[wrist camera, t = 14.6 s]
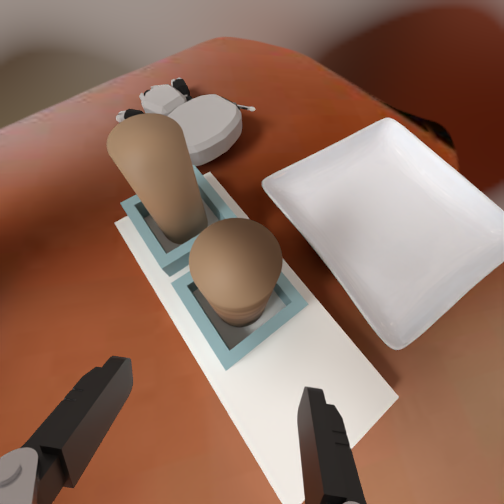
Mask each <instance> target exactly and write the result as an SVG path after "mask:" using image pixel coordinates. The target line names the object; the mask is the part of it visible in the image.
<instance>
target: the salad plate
mask: <svg viewBox="0 0 504 504" xmlns="http://www.w3.org/2000/svg"><path fill="white" fill-rule="evenodd" d="M262 187H263V189H264V191H265V192H266V193H267V194H268V196H269V197H270V198H271V199H272V201H273V202H274V203H275V204H276V205H277V206H278V208H279V209H280V210H281V211H282V212H283V213H284V214H285V216H286V217H287V218H288V219H289V220H290V221H291V222H292V224H293V225H294V226H295V227H296V228H297V229H298V231H299V232H300V233H301V234H302V235H303V237H304V238H305V239H306V240H307V241H308V243H309V244H310V245H311V246H312V248H313V249H314V250H315V251H316V253H317V254H318V255H319V256H320V258H321V259H322V260H323V262H324V263H325V264H326V265H327V267H328V268H329V269H330V270H331V272H332V273H333V274H334V276H335V277H336V279H337V280H338V281H339V283H340V284H341V285H342V287H343V288H344V290H345V291H346V292H347V294H348V295H349V297H350V298H351V300H352V301H353V302H354V304H355V305H356V307H357V308H358V310H359V311H360V312H361V314H362V315H363V316H364V318H365V319H366V321H367V322H368V324H369V325H370V326H371V327H372V329H373V330H374V331H375V332H376V334H377V335H378V336H379V337H380V338H381V339H382V341H383V342H384V343H385V344H386V345H387V346H389V347H390V348H392V349H394V350H400V349H403V348H405V347H406V346H408V345H409V344H410V343H412V342H413V341H414V340H415V339H417V338H418V337H419V336H420V335H422V334H423V333H424V332H425V331H426V330H427V329H428V328H429V327H430V326H432V325H433V324H434V323H435V322H436V321H437V320H438V319H439V318H440V317H441V316H442V315H443V314H445V313H446V312H447V311H448V310H449V309H450V308H451V307H452V306H453V305H454V304H455V303H456V302H457V301H459V300H460V299H461V298H462V297H463V296H464V295H465V294H466V293H467V292H468V291H469V290H470V289H472V288H473V287H474V286H475V285H476V284H477V283H478V282H480V281H481V280H482V279H483V278H484V277H486V276H487V275H488V274H489V273H490V272H492V271H493V270H494V269H495V268H496V267H498V266H499V265H500V264H502V263H503V262H504V211H503V210H502V209H501V208H500V207H499V206H497V205H496V204H495V203H494V202H493V201H492V200H490V199H489V198H488V197H487V196H486V195H484V194H483V193H482V192H481V191H480V190H478V189H477V188H476V187H475V186H474V185H473V184H471V183H470V182H469V181H468V180H467V179H466V178H464V177H463V176H462V175H461V174H460V173H458V172H457V171H456V170H455V169H454V168H453V167H451V166H450V165H449V164H448V163H446V162H445V161H444V160H443V159H442V158H441V157H439V156H438V155H437V154H436V153H435V152H434V151H432V150H431V149H430V148H429V147H428V146H426V145H425V144H424V143H423V142H422V141H420V140H419V139H418V138H417V137H416V136H415V135H413V134H412V133H411V132H410V131H409V130H407V129H406V128H405V127H404V126H403V125H401V124H400V123H398V122H397V121H395V120H394V119H391V118H385V119H382V120H379V121H377V122H375V123H373V124H371V125H369V126H367V127H366V128H364V129H362V130H360V131H358V132H356V133H354V134H352V135H350V136H349V137H347V138H345V139H343V140H341V141H339V142H337V143H335V144H333V145H331V146H329V147H327V148H325V149H323V150H321V151H319V152H317V153H315V154H313V155H311V156H309V157H307V158H305V159H303V160H300V161H298V162H296V163H294V164H292V165H290V166H288V167H286V168H284V169H282V170H280V171H278V172H276V173H274V174H272V175H270V176H268V177H266V178H265V179H264V180H263V181H262Z"/></svg>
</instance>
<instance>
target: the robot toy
mask: <svg viewBox="0 0 504 504" xmlns="http://www.w3.org/2000/svg"><path fill="white" fill-rule="evenodd" d="M171 85H172V86H170V85H168V84H166V85H159V86H158V85H156V86H152V87H151V90H147V91H146V92H145V93H144V95H143V93H141V94H140V96H139V97H140V99H141V101H142V103H141V104H142V106H143V108H144V110H145V113H156V114H162V115H165V116H168V117H170V118H172V119H174V120H175V121H176V122H177V123H178V124H179V125H180V126H181V128H182V130H183V133H184V137H185V140H186V144H187V148H188V151H189V155H190V158H191V162H192V165H195V166H200V165H203V164H205V163H207V162H210V161H212V160H213V159H215V158H217V157H218V156H220V155H222V154H223V153H225V152H226V151H228V150H229V148H230V147H231V146H232V145H233V144H234V143H235V142H236V141H237V139H238V138H239V136H240V134H241V132H242V116H241V112H240V108H241V109H246V110H250V111H254V110H256V109H255V108H254V107H247V106H242V105H236V103H233V102H231V101H229V100H227V99H225V98H223V97H220V96H218V95H216V94H210V95H202V96H199V97H197V98H194V99H192V97H191V96H190V91H189V89H188V87H187V85H186V83H185V82H184V80H183V79H181V78H177V79H176V80H175V79H173V80H171ZM145 113H143V112H142V111H139V110H133V109H128V110H126V111H120V112H119V113H118V115H117V116H116V120H117V121H118V122H119V123H120V122H122V121H123V120H125V119H127V118H129V117H132V116H135V115H139V114H145Z"/></svg>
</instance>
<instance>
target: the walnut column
mask: <svg viewBox="0 0 504 504" xmlns="http://www.w3.org/2000/svg"><path fill="white" fill-rule="evenodd" d="M282 264H283V258H282V251H281V248H280V245H279V243H278V241H277V239H276V238H275V236H274V235H273V234H272V233H271V232H270V231H269V230H268V229H267V228H266V227H265V226H263V225H261V224H260V223H258V222H256V221H253V220H250V219H245V218H228V219H223V220H220V221H217V222H215V223H213V224H211V225H210V226H208V227H207V228H205V229H204V230H203V231H202V232H201V233H200V234H199V235H198V237H197V238H196V240H195V241H194V243H193V245H192V248H191V251H190V255H189V269H190V273H191V276H192V279H193V281H194V283H195V284H196V286H197V287H198V289H199V290H200V291H201V293H202V294H203V295H204V297H205V298H206V299H207V301H208V302H209V303H210V305H211V306H212V308H213V309H214V310H215V312H216V313H217V314H218V316H219V317H220V318H221V319H222V320H223V321H224V322H225V323H227V324H228V325H231V326H234V327H246V326H249V325H251V324H253V323H254V322H256V321H257V320H258V319H259V318H260V317H261V315H262V313H263V311H264V309H265V307H266V305H267V303H268V300H269V298H270V296H271V294H272V292H273V289H274V287H275V285H276V283H277V281H278V278H279V276H280V273H281V270H282Z"/></svg>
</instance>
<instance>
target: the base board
mask: <svg viewBox="0 0 504 504" xmlns="http://www.w3.org/2000/svg"><path fill="white" fill-rule="evenodd" d="M107 150H108V153H109V155H110V157H111V158H112V159H113V161H114V162H115V164H116V165H117V167H118V168H119V170H120V171H121V172H122V174H123V175H124V177H125V178H126V180H127V181H128V183H129V184H130V186H131V187H132V188H133V190H134V191H135V193H136V195H134V196H132V197H130V198H129V199H127V200H125V201H123V202H121V203H120V204H121V205H122V207H123V209H124V210H125V212H126V213H127V215H128V216H126V217H124V218H122V219H120V220H118V221H117V222H115V225H116V227H117V228H118V230H119V232H120V233H121V235H122V237H123V238H124V240H125V242H126V243H127V245H128V247H129V248H130V250H131V252H132V253H133V255H134V257H135V259H136V260H137V262H138V264H139V265H140V267H141V269H142V270H143V272H144V274H145V275H146V277H147V279H148V280H149V282H150V284H151V285H152V287H153V289H154V290H155V292H156V294H157V295H158V297H159V299H160V300H161V302H162V304H163V305H164V307H165V309H166V310H167V312H168V314H169V315H170V317H171V319H172V320H173V322H174V324H175V325H176V327H177V329H178V330H179V332H180V334H181V335H182V337H183V339H184V340H185V342H186V344H187V345H188V347H189V349H190V350H191V352H192V354H193V355H194V357H195V359H196V360H197V362H198V364H199V365H200V367H201V369H202V370H203V372H204V374H205V375H206V377H207V379H208V380H209V382H210V384H211V385H212V387H213V389H214V390H215V392H216V394H217V395H218V397H219V399H220V401H221V402H222V404H223V406H224V407H225V409H226V411H227V412H228V414H229V416H230V417H231V419H232V421H233V422H234V424H235V426H236V427H237V429H238V431H239V432H240V434H241V436H242V437H243V439H244V441H245V442H246V444H247V446H248V447H249V449H250V451H251V452H252V454H253V456H254V457H255V459H256V461H257V462H258V464H259V466H260V467H261V469H262V471H263V472H264V474H265V476H266V477H267V479H268V481H269V482H270V484H271V486H272V487H273V489H274V491H275V492H276V494H277V496H278V497H279V499H280V501H281V502H282V504H301V503H302V502H303V501H304V500H305V496H304V486H303V476H302V466H301V456H300V446H299V436H298V426H297V413H298V407H299V404H300V400H301V397H302V394H303V390H304V387H305V386H306V387H313V388H319V389H322V390H323V392H324V396H325V400H326V404H331V405H335V407H336V408H337V410H338V412H339V413H340V415H341V416H342V418H343V422H344V425H345V429H346V435H347V436H348V440H349V443H350V448H351V449H352V448H353V447H354V446H355V445H356V444H357V442H358V441H359V440H360V439H361V438H362V437H363V436H364V435H365V434H366V433H367V432H368V430H369V429H370V428H371V427H372V426H373V425H374V424H375V423H376V422H377V421H378V420H379V419H380V417H381V416H382V415H383V414H384V413H385V412H386V411H387V410H388V409H389V408H390V407H391V405H392V404H393V403H394V402H395V401H396V400H397V399H398V398H399V396H398V395H397V394H396V393H395V392H394V391H393V389H392V388H391V387H390V386H389V385H388V383H387V382H386V381H385V380H384V379H383V377H382V376H381V375H380V374H379V373H378V371H377V370H376V369H375V368H374V367H373V365H372V364H371V363H370V362H369V361H368V360H367V358H366V357H365V356H364V355H363V354H362V352H361V351H360V350H359V349H358V348H357V346H356V345H355V344H354V343H353V342H352V340H351V339H350V338H349V337H348V336H347V334H346V333H345V332H344V331H343V330H342V329H341V327H340V326H339V325H338V324H337V323H336V321H335V320H334V319H333V318H332V317H331V315H330V314H329V313H328V312H327V311H326V309H325V308H324V307H323V306H322V305H321V303H320V302H319V301H318V300H317V299H316V298H315V296H314V295H313V294H312V293H311V292H310V290H309V289H308V288H307V287H306V286H305V284H304V283H303V282H302V281H301V280H300V278H299V277H298V276H297V275H296V274H295V272H294V271H293V270H292V269H291V268H290V267H289V265H288V264H287V263H286V262H285V261H284V259H283V264H282V270H281V273H280V276H279V278H278V281H277V283H276V285H275V287H274V289H273V292H272V294H271V296H270V298H269V300H268V303H267V305H266V307H265V309H264V311H263V313H262V315H261V317H260V318H259V319H258V320H257V321H256V322H254V323H253V324H251V325H249V326H246V327H234V326H231V325H228V324H227V323H225V322H224V321H223V320H222V319H221V318H220V317H219V316H218V314H217V313H216V312H215V310H214V309H213V308H212V306H211V305H210V303H209V302H208V301H207V299H206V298H205V297H204V295H203V294H202V293H201V291H200V290H199V289H198V287H197V286H196V284H195V283H194V281H193V279H192V276H191V273H190V269H189V255H190V251H191V248H192V245H193V243H194V241H195V240H196V238H197V237H198V235H199V234H200V233H201V232H202V231H203V230H204V229H205V228H207V227H208V226H210V225H211V224H213V223H215V222H217V221H220V220H223V219H228V218H245V219H249V218H248V216H247V215H246V214H245V213H244V212H243V210H242V209H241V208H240V207H239V206H238V205H237V203H236V202H235V201H234V200H233V199H232V197H231V196H230V195H229V194H228V193H227V191H226V190H225V189H224V188H223V187H222V185H221V184H220V183H219V182H218V181H217V179H216V178H215V177H214V176H213V175H212V174H211V172H208V173H206V174H204V175H202V174H201V173H200V171H199V170H198V169H197V168H196V166H195V165H192V162H191V158H190V155H189V151H188V148H187V144H186V140H185V137H184V133H183V130H182V128H181V126H180V125H179V124H178V123H177V122H176V121H175V120H174V119H172V118H170V117H168V116H165V115H162V114H156V113H145V114H139V115H135V116H132V117H129V118H127V119H125V120H123V121H122V122H120V123H119V124H118V125H116V126H115V127H114V128H113V130H112V131H111V132H110V134H109V136H108V139H107Z"/></svg>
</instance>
